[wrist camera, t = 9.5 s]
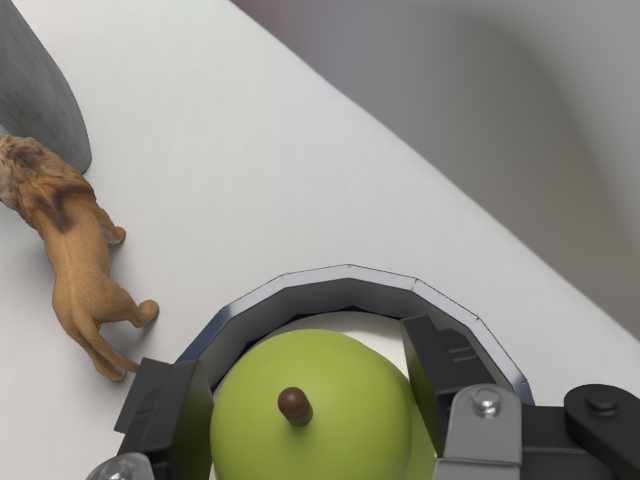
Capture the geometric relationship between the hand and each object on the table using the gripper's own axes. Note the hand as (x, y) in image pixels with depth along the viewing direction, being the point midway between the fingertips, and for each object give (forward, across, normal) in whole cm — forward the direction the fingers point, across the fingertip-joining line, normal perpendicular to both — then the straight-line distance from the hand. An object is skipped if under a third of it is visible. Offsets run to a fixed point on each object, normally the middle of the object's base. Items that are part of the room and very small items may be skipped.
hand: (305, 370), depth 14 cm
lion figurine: (+20, +13, +3) cm, 24 cm away
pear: (+2, 0, +5) cm, 5 cm away
